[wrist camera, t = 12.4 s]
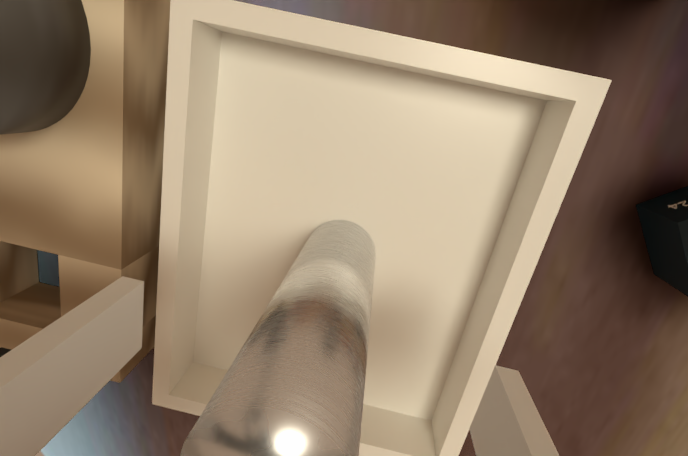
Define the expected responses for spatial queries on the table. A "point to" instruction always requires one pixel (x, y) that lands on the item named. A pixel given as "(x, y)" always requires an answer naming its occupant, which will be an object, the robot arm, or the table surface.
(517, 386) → the robot arm
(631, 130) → the table surface
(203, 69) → the tray
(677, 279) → the watch
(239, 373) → the lock pin
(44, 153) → the tensioner plate
